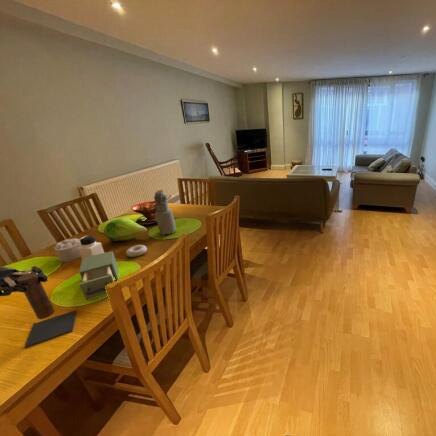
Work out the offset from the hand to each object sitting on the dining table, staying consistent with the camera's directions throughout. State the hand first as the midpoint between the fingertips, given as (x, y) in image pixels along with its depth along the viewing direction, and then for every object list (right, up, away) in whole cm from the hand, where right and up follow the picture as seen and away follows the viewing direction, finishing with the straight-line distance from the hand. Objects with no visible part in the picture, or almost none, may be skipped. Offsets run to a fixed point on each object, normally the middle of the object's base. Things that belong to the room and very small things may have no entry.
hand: (36, 283), depth 78 cm
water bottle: (+1, +12, +81) cm, 82 cm away
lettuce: (-19, +8, +73) cm, 76 cm away
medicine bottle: (-25, 0, +53) cm, 59 cm away
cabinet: (-6, -7, +35) cm, 36 cm away
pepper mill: (-3, -12, +6) cm, 14 cm away
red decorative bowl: (-19, +20, +101) cm, 105 cm away
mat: (-2, -18, +8) cm, 20 cm away
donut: (-3, +1, +56) cm, 56 cm away
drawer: (+1, -10, +26) cm, 27 cm away
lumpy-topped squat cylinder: (-38, 0, +54) cm, 66 cm away
